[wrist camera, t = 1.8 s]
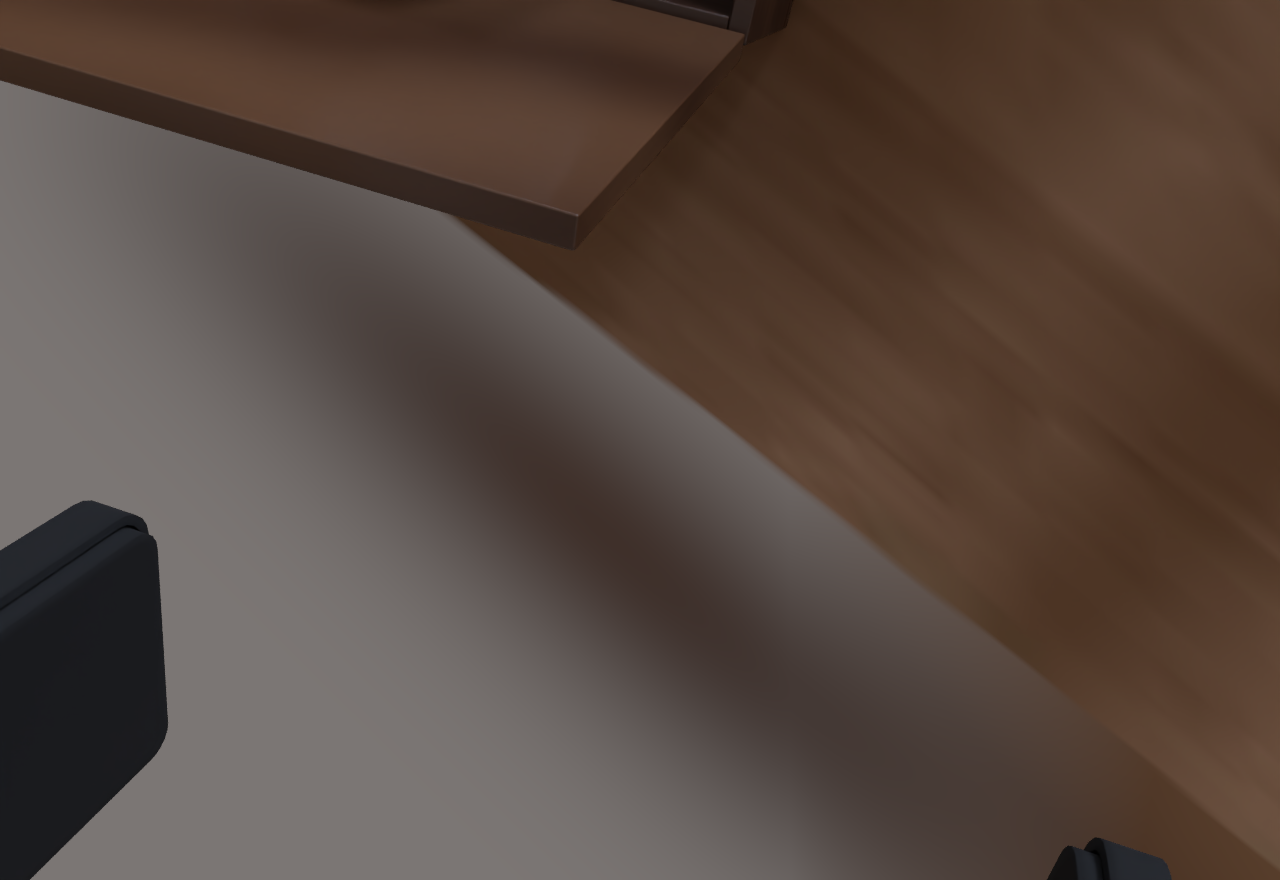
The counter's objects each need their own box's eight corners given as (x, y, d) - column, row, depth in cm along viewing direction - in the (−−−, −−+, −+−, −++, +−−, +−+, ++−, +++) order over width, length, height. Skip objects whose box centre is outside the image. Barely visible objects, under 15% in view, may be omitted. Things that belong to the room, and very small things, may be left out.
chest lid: (-203, -12, 20) (-190, 24, 20) (578, 215, 17) (574, 252, 18) (196, -106, 29) (199, -79, 30) (745, 33, 27) (739, 61, 27)
